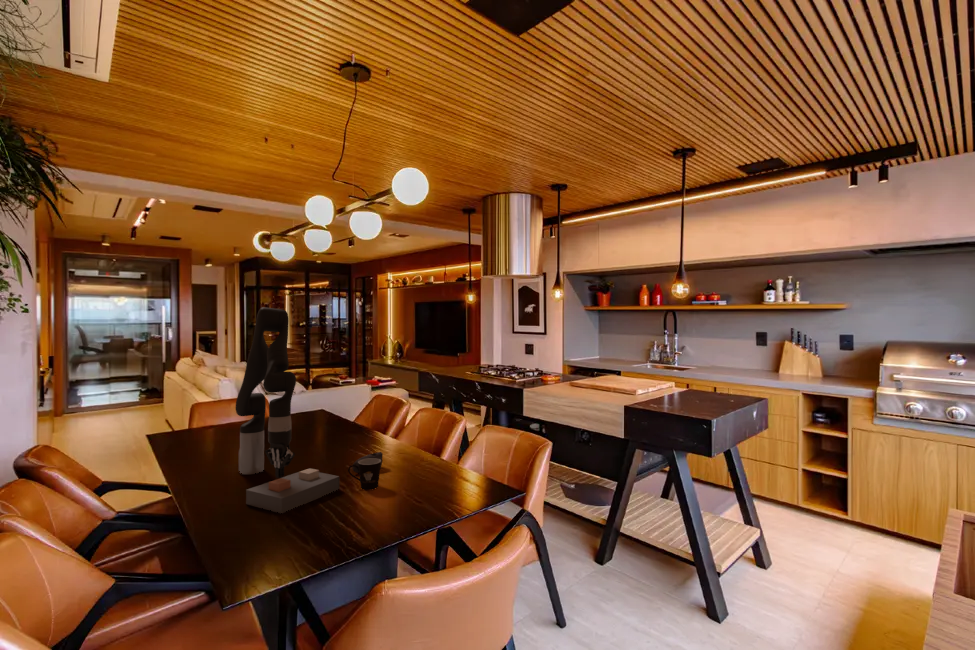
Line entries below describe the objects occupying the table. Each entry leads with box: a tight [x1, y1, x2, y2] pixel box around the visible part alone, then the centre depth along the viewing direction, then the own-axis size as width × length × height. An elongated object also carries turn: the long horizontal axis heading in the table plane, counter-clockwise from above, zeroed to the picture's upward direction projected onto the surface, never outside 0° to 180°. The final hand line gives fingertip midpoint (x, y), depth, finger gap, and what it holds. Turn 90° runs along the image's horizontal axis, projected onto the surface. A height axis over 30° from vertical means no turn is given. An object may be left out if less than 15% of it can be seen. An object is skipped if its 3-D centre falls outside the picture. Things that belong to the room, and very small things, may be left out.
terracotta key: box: [268, 478, 291, 492], centre depth 166 cm, size 5×5×4 cm
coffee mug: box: [347, 458, 382, 491], centre depth 182 cm, size 12×9×10 cm
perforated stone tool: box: [351, 451, 384, 474], centre depth 203 cm, size 15×5×7 cm, turn 134°
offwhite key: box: [298, 467, 320, 481], centre depth 178 cm, size 5×5×4 cm
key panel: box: [245, 471, 340, 514], centre depth 172 cm, size 18×26×5 cm
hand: (279, 477), depth 166 cm, fingers closed
